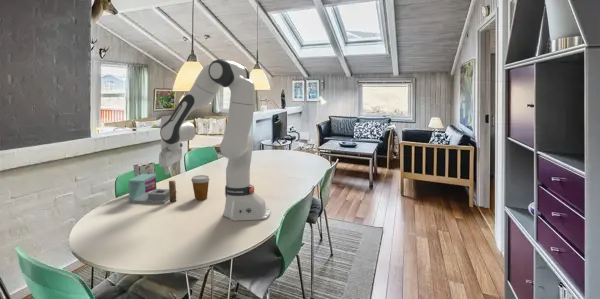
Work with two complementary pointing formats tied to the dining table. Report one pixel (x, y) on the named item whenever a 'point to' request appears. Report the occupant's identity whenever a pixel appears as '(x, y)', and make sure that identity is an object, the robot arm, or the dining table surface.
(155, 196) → the socket station
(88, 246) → the dining table surface
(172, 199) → the walnut dowel
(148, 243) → the dining table surface
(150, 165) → the candy bar box
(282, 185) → the dining table surface
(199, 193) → the disposable coffee cup
